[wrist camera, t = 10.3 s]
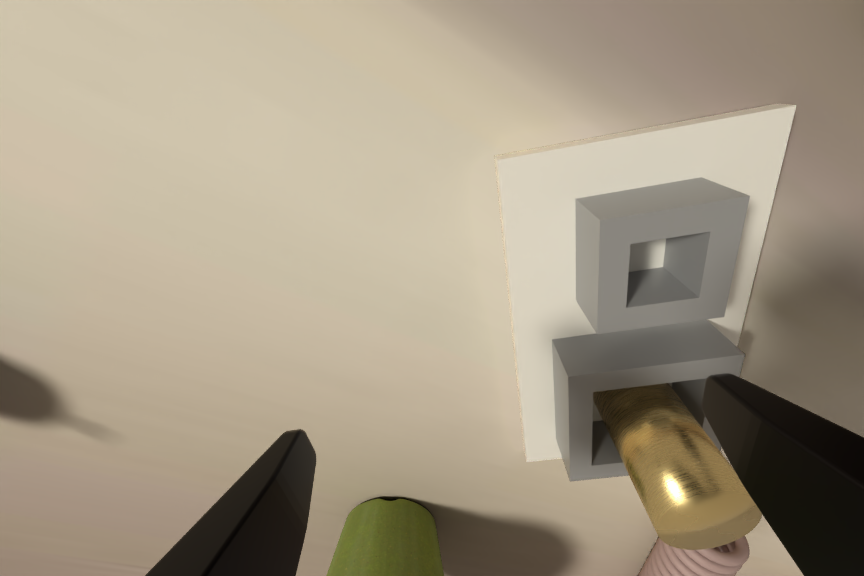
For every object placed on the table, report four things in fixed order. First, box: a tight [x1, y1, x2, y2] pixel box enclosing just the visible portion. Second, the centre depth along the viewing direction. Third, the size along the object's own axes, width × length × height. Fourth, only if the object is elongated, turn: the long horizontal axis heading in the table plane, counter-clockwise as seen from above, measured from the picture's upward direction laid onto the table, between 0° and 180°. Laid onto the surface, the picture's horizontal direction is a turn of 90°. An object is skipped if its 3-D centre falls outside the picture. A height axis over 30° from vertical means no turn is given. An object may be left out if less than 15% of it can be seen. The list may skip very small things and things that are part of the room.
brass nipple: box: [593, 383, 762, 550], centre depth 19 cm, size 4×4×8 cm
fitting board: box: [494, 104, 796, 481], centre depth 20 cm, size 12×20×4 cm, turn 10°
